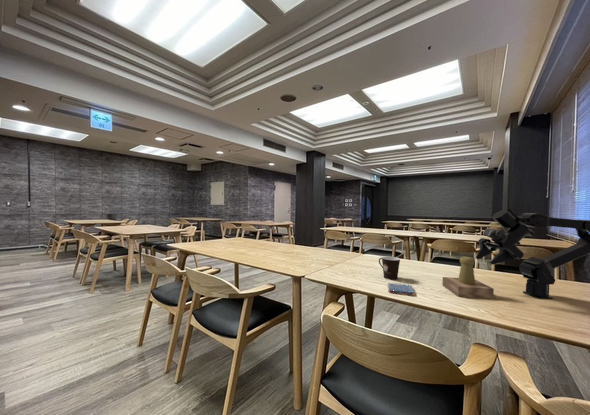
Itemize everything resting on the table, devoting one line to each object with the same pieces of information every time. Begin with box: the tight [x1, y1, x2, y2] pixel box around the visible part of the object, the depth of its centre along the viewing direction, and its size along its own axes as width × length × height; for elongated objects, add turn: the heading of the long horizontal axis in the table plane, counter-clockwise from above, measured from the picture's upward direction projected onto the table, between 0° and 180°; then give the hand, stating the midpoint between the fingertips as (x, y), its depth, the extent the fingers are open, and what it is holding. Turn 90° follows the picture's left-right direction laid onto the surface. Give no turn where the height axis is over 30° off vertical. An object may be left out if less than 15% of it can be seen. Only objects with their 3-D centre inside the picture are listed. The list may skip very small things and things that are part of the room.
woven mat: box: [387, 282, 416, 297], centre depth 101 cm, size 10×11×2 cm
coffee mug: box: [378, 255, 401, 281], centre depth 120 cm, size 12×9×10 cm
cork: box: [458, 256, 476, 285], centre depth 101 cm, size 6×6×11 cm
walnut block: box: [442, 276, 495, 299], centre depth 101 cm, size 13×13×4 cm
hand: (483, 260), depth 100 cm, fingers open, 9 cm apart
